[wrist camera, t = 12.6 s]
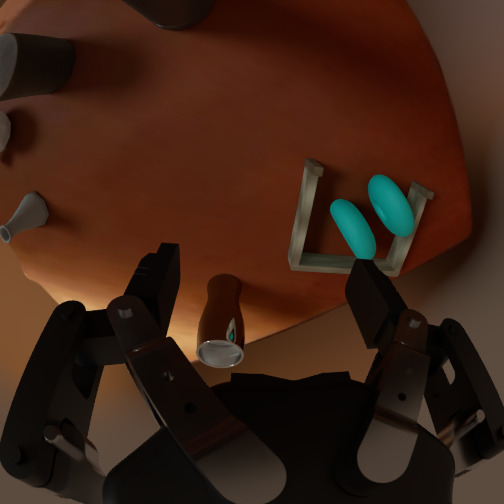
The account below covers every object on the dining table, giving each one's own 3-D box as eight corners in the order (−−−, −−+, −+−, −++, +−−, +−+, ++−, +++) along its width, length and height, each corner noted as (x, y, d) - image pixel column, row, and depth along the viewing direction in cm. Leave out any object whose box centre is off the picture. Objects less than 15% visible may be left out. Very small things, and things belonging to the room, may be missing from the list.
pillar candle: (85, 59, 26) (21, 54, 13) (48, 105, 29) (-16, 121, 16) (59, 28, 22) (-2, 19, 9) (25, 73, 25) (-36, 81, 12)
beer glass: (242, 303, 50) (243, 370, 38) (204, 300, 50) (195, 367, 37) (245, 273, 47) (247, 340, 34) (204, 270, 46) (193, 337, 33)
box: (305, 157, 37) (314, 166, 32) (417, 181, 38) (434, 192, 34) (286, 256, 45) (291, 274, 41) (388, 264, 47) (400, 280, 42)
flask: (19, 203, 37) (-13, 227, 29) (35, 184, 36) (1, 206, 27) (36, 232, 41) (8, 259, 32) (54, 215, 39) (24, 243, 31)
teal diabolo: (319, 196, 40) (340, 225, 31) (372, 163, 37) (405, 184, 29) (346, 242, 44) (368, 278, 36) (394, 212, 42) (424, 242, 33)
